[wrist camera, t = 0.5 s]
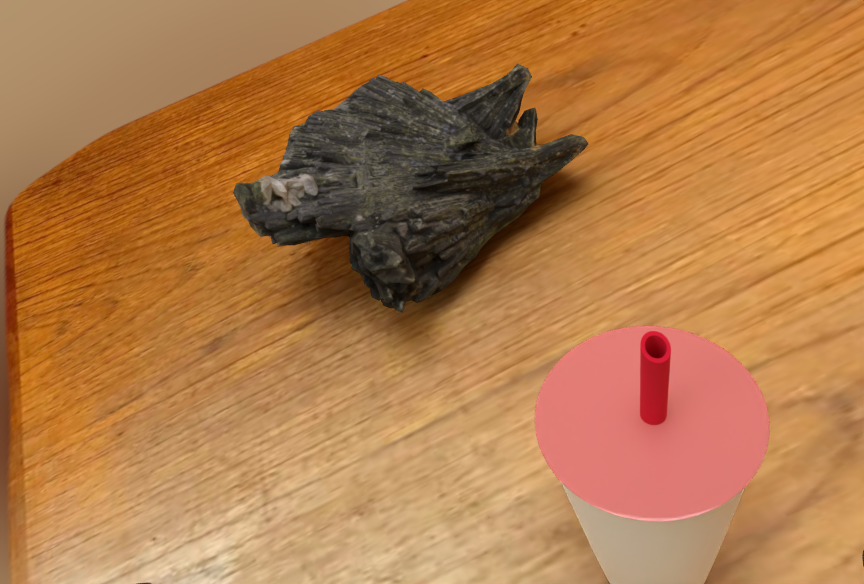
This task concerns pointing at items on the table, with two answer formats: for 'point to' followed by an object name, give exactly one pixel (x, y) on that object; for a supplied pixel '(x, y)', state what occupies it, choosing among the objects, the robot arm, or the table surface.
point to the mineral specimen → (408, 180)
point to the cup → (652, 448)
